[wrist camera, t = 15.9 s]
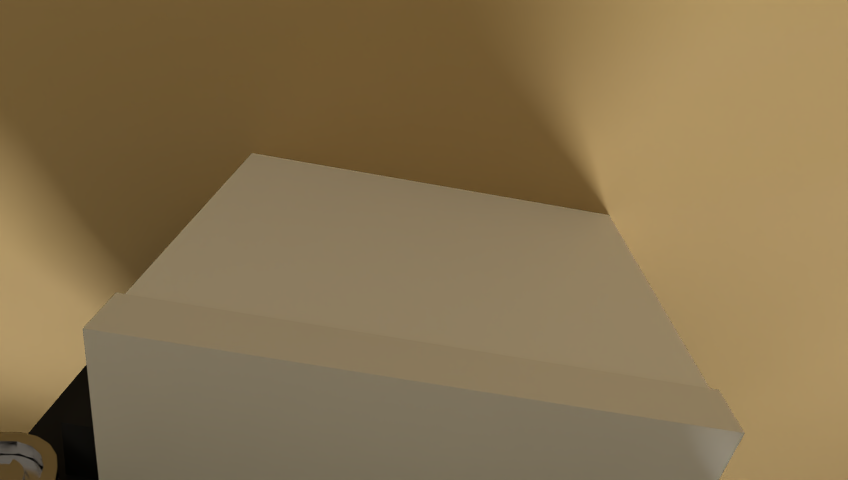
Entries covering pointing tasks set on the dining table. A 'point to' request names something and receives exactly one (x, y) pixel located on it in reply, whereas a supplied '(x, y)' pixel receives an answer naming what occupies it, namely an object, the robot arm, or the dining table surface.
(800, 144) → the dining table surface
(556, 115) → the dining table surface
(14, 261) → the dining table surface
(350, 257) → the grey block
